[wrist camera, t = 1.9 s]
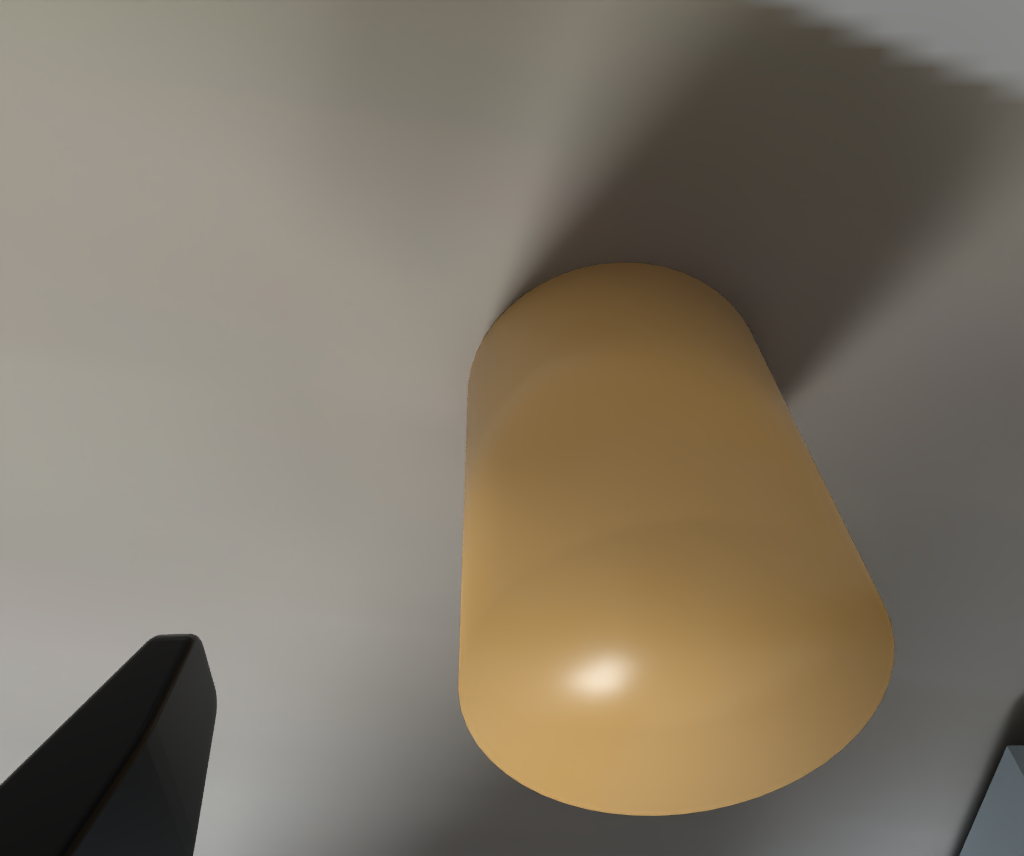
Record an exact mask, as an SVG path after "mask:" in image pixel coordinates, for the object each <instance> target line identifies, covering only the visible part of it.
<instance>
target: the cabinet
mask: <svg viewBox="0 0 1024 856" xmlns="http://www.w3.org/2000/svg"><path fill="white" fill-rule="evenodd" d="M959 856H1024V745H1020V746H1007V747H1006V750H1005V752H1004V754H1003V757H1002V759H1001V761H1000V763H999V766H998V768H997V770H996V773H995V775H994V777H993V780H992V782H991V784H990V786H989V789H988V791H987V793H986V796H985V798H984V800H983V803H982V805H981V807H980V809H979V812H978V814H977V816H976V819H975V821H974V823H973V826H972V828H971V830H970V832H969V835H968V837H967V839H966V842H965V844H964V846H963V849H962V851H961V853H960V855H959Z"/></svg>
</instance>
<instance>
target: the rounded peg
mask: <svg viewBox="0 0 1024 856" xmlns="http://www.w3.org/2000/svg"><path fill="white" fill-rule="evenodd" d="M893 663H894V636H893V631H892V625H891V621H890V618H889V616H888V614H887V611H886V609H885V606H884V604H883V601H882V599H881V597H880V595H879V593H878V591H877V589H876V587H875V585H874V583H873V581H872V579H871V577H870V575H869V573H868V571H867V569H866V567H865V565H864V563H863V560H862V558H861V556H860V554H859V552H858V550H857V548H856V546H855V544H854V542H853V540H852V538H851V536H850V534H849V532H848V530H847V528H846V526H845V524H844V522H843V520H842V518H841V515H840V513H839V511H838V509H837V507H836V505H835V503H834V501H833V499H832V497H831V495H830V493H829V491H828V489H827V487H826V485H825V483H824V481H823V479H822V477H821V475H820V473H819V470H818V468H817V466H816V464H815V462H814V460H813V458H812V456H811V454H810V452H809V450H808V448H807V446H806V444H805V442H804V440H803V438H802V436H801V434H800V432H799V430H798V427H797V425H796V423H795V421H794V419H793V417H792V415H791V413H790V411H789V409H788V407H787V405H786V403H785V401H784V399H783V397H782V395H781V393H780V391H779V389H778V387H777V385H776V382H775V380H774V378H773V376H772V374H771V372H770V370H769V368H768V366H767V364H766V362H765V360H764V358H763V356H762V354H761V352H760V350H759V348H758V346H757V344H756V342H755V340H754V337H753V335H752V333H751V331H750V329H749V328H748V326H747V325H746V323H745V321H744V320H743V318H742V317H741V315H740V314H739V313H738V312H737V310H736V309H735V308H734V307H733V306H732V305H731V304H730V302H729V301H727V300H726V299H725V298H724V297H723V296H722V295H720V294H719V293H718V292H717V291H716V290H714V289H713V288H711V287H710V286H708V285H706V284H705V283H703V282H702V281H700V280H698V279H696V278H694V277H691V276H689V275H687V274H685V273H683V272H680V271H676V270H673V269H670V268H666V267H663V266H657V265H651V264H645V263H628V262H619V263H607V264H598V265H593V266H588V267H584V268H579V269H576V270H573V271H570V272H567V273H564V274H561V275H559V276H557V277H554V278H552V279H550V280H548V281H546V282H544V283H542V284H540V285H538V286H537V287H535V288H534V289H532V290H531V291H529V292H527V293H526V294H524V295H523V296H522V297H521V298H519V299H518V300H517V301H516V302H514V303H513V304H512V305H511V306H510V307H508V309H507V310H506V311H505V312H504V313H503V314H502V315H501V316H500V317H499V318H498V319H497V320H496V321H495V323H494V324H493V326H492V327H491V329H490V330H489V331H488V333H487V334H486V336H485V337H484V339H483V341H482V343H481V345H480V347H479V349H478V351H477V353H476V356H475V359H474V361H473V364H472V367H471V371H470V377H469V382H468V398H467V430H466V462H465V493H464V525H463V556H462V588H461V619H460V651H459V684H458V694H459V700H460V706H461V711H462V714H463V717H464V719H465V722H466V725H467V727H468V729H469V731H470V733H471V735H472V736H473V738H474V740H475V741H476V743H477V745H478V746H479V747H480V748H481V749H482V751H483V752H484V753H485V754H486V755H487V757H488V758H489V759H490V760H491V761H492V762H493V763H494V764H496V765H497V766H498V767H499V768H500V769H501V770H502V771H503V772H505V773H506V774H507V775H509V776H510V777H512V778H513V779H515V780H516V781H518V782H519V783H521V784H522V785H524V786H526V787H528V788H530V789H532V790H534V791H536V792H538V793H540V794H542V795H544V796H547V797H549V798H552V799H555V800H557V801H560V802H562V803H566V804H569V805H573V806H577V807H580V808H584V809H589V810H594V811H600V812H605V813H612V814H623V815H636V816H662V815H677V814H688V813H695V812H701V811H708V810H713V809H717V808H722V807H726V806H731V805H735V804H738V803H741V802H744V801H748V800H751V799H754V798H757V797H760V796H762V795H765V794H767V793H770V792H772V791H775V790H777V789H780V788H782V787H784V786H786V785H788V784H790V783H792V782H794V781H796V780H798V779H800V778H802V777H804V776H805V775H807V774H808V773H810V772H812V771H813V770H815V769H816V768H818V767H820V766H821V765H823V764H824V763H825V762H827V761H828V760H829V759H831V758H832V757H833V756H834V755H836V754H837V753H838V752H840V751H841V750H842V749H843V748H844V747H845V746H846V745H847V744H848V743H849V742H850V741H851V740H852V739H853V738H854V737H855V736H857V735H858V733H859V732H860V731H861V730H862V728H863V727H864V726H865V725H866V723H867V722H868V721H869V720H870V718H871V717H872V716H873V714H874V712H875V711H876V709H877V707H878V706H879V704H880V702H881V701H882V699H883V696H884V694H885V691H886V689H887V686H888V684H889V681H890V677H891V673H892V668H893Z"/></svg>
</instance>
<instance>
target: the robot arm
mask: <svg viewBox="0 0 1024 856" xmlns="http://www.w3.org/2000/svg"><path fill="white" fill-rule="evenodd" d="M216 710H217V697H216V690H215V686H214V683H213V679H212V675H211V672H210V668H209V665H208V661H207V658H206V654H205V650H204V647H203V644H202V642H201V640H200V639H199V637H198V636H196V635H193V634H168V635H157V636H155V637H153V638H151V639H150V640H149V641H147V642H146V643H145V644H144V645H143V646H142V647H141V648H140V649H139V650H138V651H137V652H136V653H135V654H134V655H133V656H132V657H131V658H130V659H129V660H128V661H127V662H126V663H125V664H124V665H123V666H122V667H121V668H120V669H119V670H118V671H117V672H116V673H115V674H114V675H113V676H111V677H110V678H109V679H108V680H107V681H106V682H105V683H104V684H103V685H102V686H101V687H100V688H99V689H98V690H97V691H96V692H95V693H94V694H93V695H92V696H91V697H90V698H89V699H88V700H87V701H86V702H85V703H84V704H83V705H82V706H81V707H80V708H79V709H78V710H77V711H76V712H75V713H74V714H73V715H72V716H71V717H69V718H68V719H67V720H66V721H65V722H64V723H63V724H62V725H61V726H60V727H59V728H58V729H57V730H56V731H55V732H54V733H53V734H52V735H51V736H50V737H49V738H48V739H47V740H46V741H45V742H44V743H43V744H42V745H41V746H40V747H39V748H38V749H37V750H36V751H35V752H34V753H33V754H32V755H31V756H30V757H29V758H28V759H26V760H25V761H24V762H23V763H22V764H21V765H20V766H19V767H18V768H17V769H16V770H15V771H14V772H13V773H12V774H11V775H10V776H9V777H8V778H7V779H6V780H5V781H4V782H3V783H2V784H1V785H0V856H193V852H194V847H195V841H196V835H197V829H198V823H199V817H200V811H201V805H202V798H203V792H204V786H205V780H206V774H207V768H208V762H209V755H210V749H211V743H212V737H213V731H214V725H215V718H216Z"/></svg>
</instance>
